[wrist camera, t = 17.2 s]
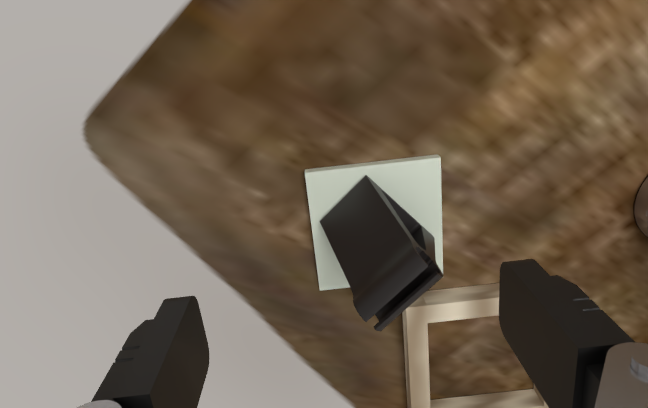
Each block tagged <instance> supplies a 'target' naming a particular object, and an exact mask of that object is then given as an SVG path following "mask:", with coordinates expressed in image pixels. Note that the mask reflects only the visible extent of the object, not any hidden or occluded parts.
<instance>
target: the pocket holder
mask: <svg viewBox="0 0 648 408" xmlns="http://www.w3.org/2000/svg"><path fill="white" fill-rule="evenodd" d="M559 277H561V276H559ZM561 278H562V277H561ZM499 287H500V283H494V284H485V285H476V286H467V287H458V288H449V289H440V290H431V291H426V292H425V293H424V294H423V295H421V296H420V297H419V298H418V299H417V300H416V301H415V302H414V303H412V304H411V305H410V306H409V307H408V308H407V309H406V310H404V311H403V312H402V319H403V336H404V354H405V371H406V388H407V406H408V408H549V407H548V405H547V404H546V402H545V401H544V399H543V398H542V396H541V394H540V393H539V391H538V390H537V388H536V386H535V385H534V386H533V389H527V390H518V391H508V392H499V393H490V394H481V395H472V396H462V397H453V398H444V399H435V400H430V382H429V353H428V325H427V323H433V322H442V321H451V320H460V319H469V318H479V317H488V316H497V315H499Z"/></svg>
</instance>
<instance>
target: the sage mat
mask: <svg viewBox="0 0 648 408" xmlns="http://www.w3.org/2000/svg"><path fill="white" fill-rule="evenodd" d="M365 175H367V176H368V177H369V178H370V179H372V180H373V181H374V182H375V183H376V184H377V185H378V186H379V187H380V188H381V189H382V190H384V191H385V192H386V193H387V194H388V195H389V196H390V197H391V198H392V199H393V200H394V201H396V202H397V203H398V204H399V205H400V206H401V207H402V208H403V209H404V210H405V211H406V212H408V213H409V214H410V215H411V216H412V217H413V218H414V219H415V220H416V221H417V222H419V223H420V224H421V225H422V226H423V227H424V228H425V229H426V230H427V231H428V232H429V233H431V234H432V235H433V237H434V238H435V258H436V263H437V265H438V267H439V268H440V270H441V272H442V273H443V244H442V194H441V157H440V156H439V155H429V156H420V157H411V158H402V159H394V160H385V161H376V162H367V163H358V164H349V165H341V166H332V167H323V168H314V169H305V179H306V187H307V195H308V203H309V211H310V218H311V226H312V234H313V242H314V250H315V257H316V265H317V273H318V281H319V288H320V291H322V290H331V289H340V288H349V287H350V285H349V283H348V281H347V279H346V277H345V275H344V272H343V270H342V268H341V266H340V264H339V262H338V260H337V258H336V255H335V253H334V251H333V249H332V247H331V245H330V243H329V240H328V238H327V236H326V234H325V232H324V230H323V228H322V226H321V223H320V220H321V219H322V218H323V217H324V216H325V215H326V214H327V213H328V212H329V211H330V210H331V209H332V208H333V207H334V206H335V205H336V204H337V203H338V202H339V201H340V200H341V199H342V198H343V197H344V196H345V195H346V194H347V193H348V192H349V191H350V190H351V189H352V188H353V187H354V186H355V185H356V184H357V183H358V182H359V181H360V180H361V179H362V178H363V177H364V176H365Z"/></svg>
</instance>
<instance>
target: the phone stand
mask: <svg viewBox="0 0 648 408" xmlns="http://www.w3.org/2000/svg"><path fill="white" fill-rule="evenodd" d="M320 223H321V226H322V228H323V230H324V232H325V234H326V236H327V238H328V240H329V243H330V245H331V247H332V249H333V251H334V253H335V255H336V258H337V260H338V262H339V264H340V266H341V268H342V270H343V272H344V275H345V277H346V279H347V281H348V283H349V285H350V287H351V290H352V293H353V303H354V306H355V308H356V310H357V312H358V313H359V315H360V316H361V317H362V318H363V320H364V321H365V322H367V321H368V320H369V319H370V318H371V317H372V316H373V315H374V314H375V315H376V316H377V318H378V320H379V322H378V323H377V324H376V325H375V326H374V328H375V330H377V331H382V330H383V329H384V328H385V327H386V326H387V325H389V324H390V323H391V322H392V321H393V320H394V319H395V318H396V317H398V316H399V315H400V314H401V313H402V312H403V311H404V310H406V309H407V308H408V307H409V306H410V305H411V304H412V303H414V302H415V301H416V300H417V299H418V298H419V297H420V296H421V295H423V294H424V293H425V292H426V291H427V290H428V289H429V288H431V287H432V286H433V285H434V284H435V283H436V282H437V281H439V280H440V279H441V278H442V277H443V273H442V272H441V270H440V268H439V267H438V265H437V263H436V258H435V238H434V237H433V235H432V234H431V233H429V232H428V231H427V230H426V229H425V228H424V227H423V226H422V225H421V224H420V223H419V222H417V221H416V220H415V219H414V218H413V217H412V216H411V215H410V214H409V213H408V212H406V211H405V210H404V209H403V208H402V207H401V206H400V205H399V204H398V203H397V202H396V201H394V200H393V199H392V198H391V197H390V196H389V195H388V194H387V193H386V192H385V191H384V190H382V189H381V188H380V187H379V186H378V185H377V184H376V183H375V182H374V181H373V180H372V179H370V178H369V177H368V176H367V175H365V176H364V177H363V178H362V179H361V180H360V181H359V182H358V183H357V184H356V185H355V186H354V187H353V188H352V189H351V190H350V191H349V192H348V193H347V194H346V195H345V196H344V197H343V198H342V199H341V200H340V201H339V202H338V203H337V204H336V205H335V206H334V207H333V208H332V209H331V210H330V211H329V212H328V213H327V214H326V215H325V216H324V217H323V218H322V219H321V220H320Z"/></svg>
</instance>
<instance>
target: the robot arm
mask: <svg viewBox="0 0 648 408" xmlns="http://www.w3.org/2000/svg"><path fill="white" fill-rule="evenodd" d="M634 214H635V219H636V223H637V225H638V227H639V228H640V230H641V231H642V232H643V233H644V234H645V235H646V236H647V237H648V177H647V179H646V180H645V181H644V183H643V184H642V186H641V188H640V190H639V192H638V194H637V197H636V201H635V211H634ZM499 321H500V326H501V329H502V332H503V335H504V337H505V339H506V340H507V342H508V343H509V345H510V347H511V348H512V350H513V351H514V353H515V355H516V356H517V358H518V359H519V361H520V363H521V364H522V366H523V367H524V369H525V371H526V372H527V374H528V375H529V377H530V378H531V380H532V382H533V383H534V385H535V386H536V388H537V390H538V391H539V393H540V394H541V396H542V398H543V399H544V401H545V402H546V404H547V405H548V407H549V408H648V344H644V343H637V342H634V341H633V340H632V339H631V338H630V337H629V336H628V335H627V334H626V333H625V332H624V331H623V330H622V329H621V328H620V327H619V326H618V325H617V324H616V323H615V322H614V321H613V320H612V319H611V318H610V317H609V316H608V315H607V314H606V313H605V312H604V311H603V310H600V309H599V307H598V306H597V305H596V304H595V303H594V302H593V301H592V300H589V297H588V296H587V295H586V294H585V293H584V292H583V291H582V290H581V289H580V288H579V287H578V286H577V285H575V284H573V283H571V282H569V281H567V280H565V279H563V278H561V277H559V276H557V275H556V276H550V275H549V274H548V273H547V272H546V271H545V270H544V269H543V268H542V267H541V266H540V265H539V264H538V263H537V262H536V261H535V260H533V259H527V260H518V261H509V262H503V263H502V264H501V267H500V287H499ZM115 360H116V361H115V363H113V365H112V366H111V368H110V370H109V372H108V373H107V375H106V377H105V379H104V380H103V382H102V384H101V385H100V387H99V389H98V391H97V392H96V394H95V396H94V398H93V399H92V401H91V402H89V403H87V404H84V405H82V406H80V407H77V408H197V406H198V402H199V398H200V395H201V391H202V388H203V384H204V381H205V378H206V374H207V371H208V366H209V348H208V342H207V338H206V334H205V330H204V326H203V321H202V317H201V313H200V309H199V305H198V301H197V299H196V297H195V296H188V297H180V298H170V299H165V300H164V301H163V303H162V305H161V307H160V308H159V310H158V312H157V315H156V316H155V318H154V319H153V320H145V321H144V322H143V323H142V324H141V325H140V326H138V327H137V328H136V329H135V330H134V331H133V332H131V334H130V335H129V337H128V338H127V340H126V342H125V344H124V345H123V347H122V351H120V352H119V354H118V356H117V358H116V359H115Z"/></svg>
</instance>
